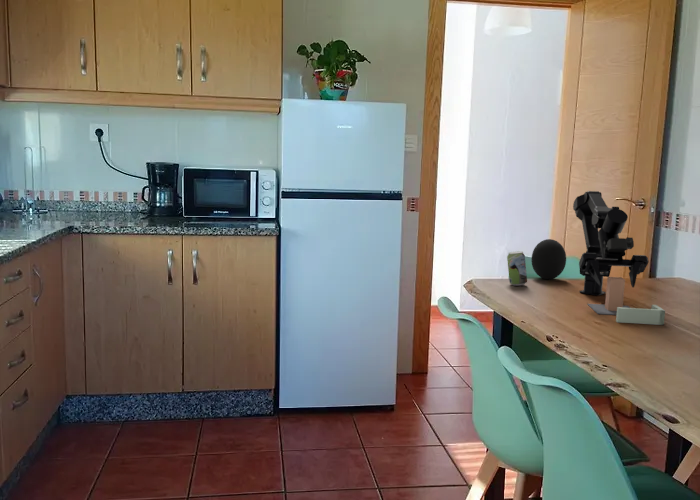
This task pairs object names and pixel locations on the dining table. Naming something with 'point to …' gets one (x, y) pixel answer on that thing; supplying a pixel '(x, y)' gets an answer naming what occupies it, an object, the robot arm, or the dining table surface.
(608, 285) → the terracotta block
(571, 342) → the dining table surface
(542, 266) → the decorative egg
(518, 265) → the beverage can
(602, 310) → the charcoal mat
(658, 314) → the bar
